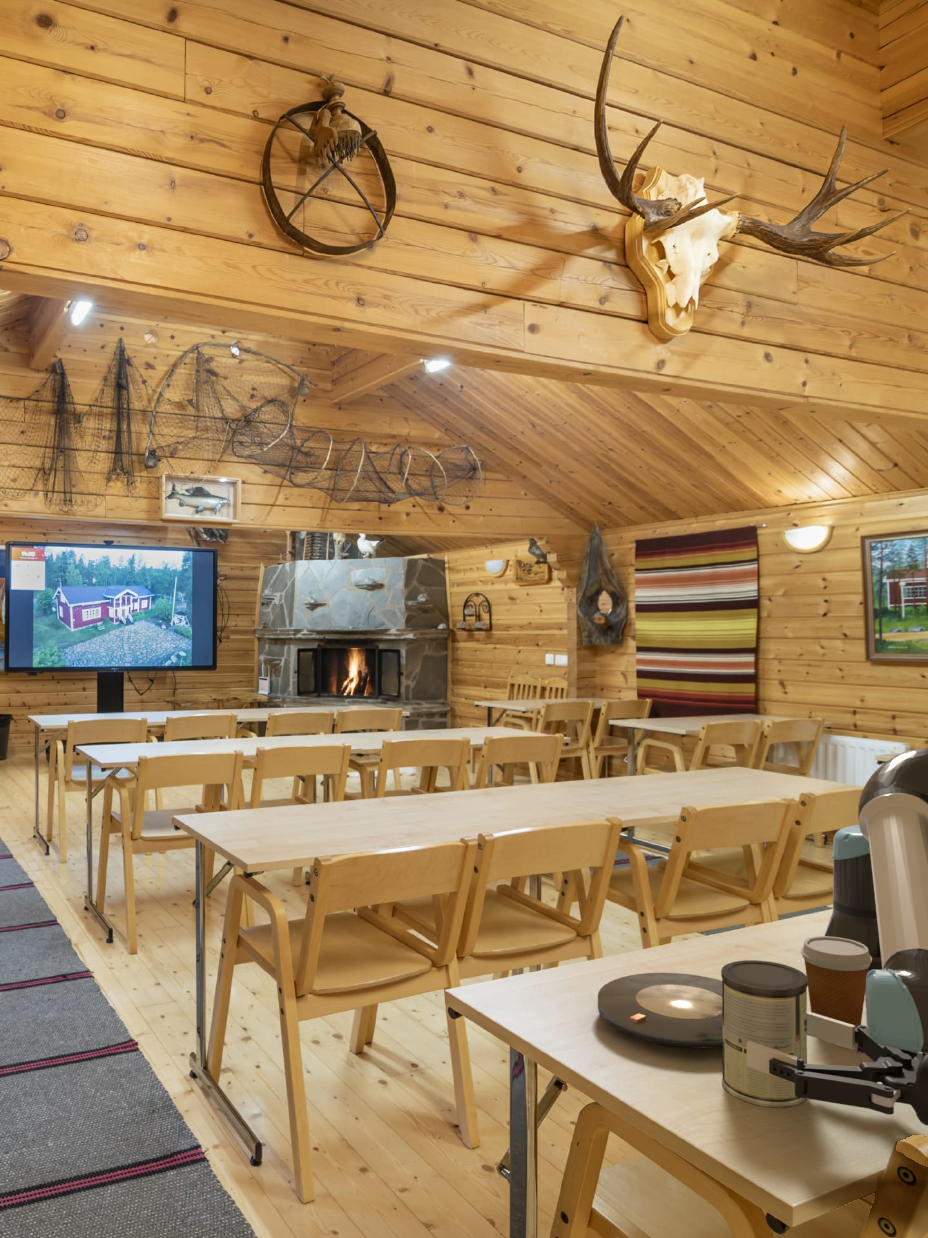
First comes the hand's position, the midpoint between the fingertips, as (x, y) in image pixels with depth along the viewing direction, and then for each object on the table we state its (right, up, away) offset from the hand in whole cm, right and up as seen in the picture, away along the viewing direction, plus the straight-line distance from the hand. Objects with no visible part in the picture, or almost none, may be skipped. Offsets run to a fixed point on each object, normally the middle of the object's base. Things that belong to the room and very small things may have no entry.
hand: (776, 1037), depth 115 cm
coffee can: (-1, -7, +2) cm, 8 cm away
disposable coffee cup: (+15, -8, +20) cm, 26 cm away
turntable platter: (-7, -6, +21) cm, 23 cm away
